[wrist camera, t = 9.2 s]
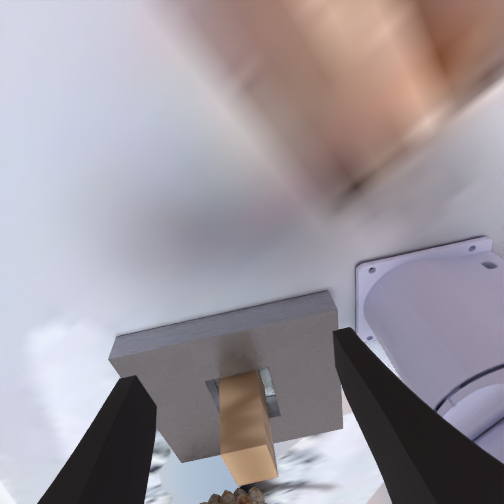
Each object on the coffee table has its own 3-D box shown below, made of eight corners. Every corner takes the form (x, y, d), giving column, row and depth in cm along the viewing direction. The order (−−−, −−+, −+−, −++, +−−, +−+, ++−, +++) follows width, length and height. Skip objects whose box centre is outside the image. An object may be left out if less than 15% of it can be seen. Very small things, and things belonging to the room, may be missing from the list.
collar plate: (327, 290, 22) (337, 309, 20) (335, 408, 31) (343, 428, 29) (116, 336, 22) (108, 359, 20) (183, 441, 31) (181, 463, 29)
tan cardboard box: (253, 354, 25) (266, 444, 19) (264, 389, 28) (278, 477, 22) (218, 362, 25) (220, 454, 19) (233, 396, 28) (238, 486, 22)
